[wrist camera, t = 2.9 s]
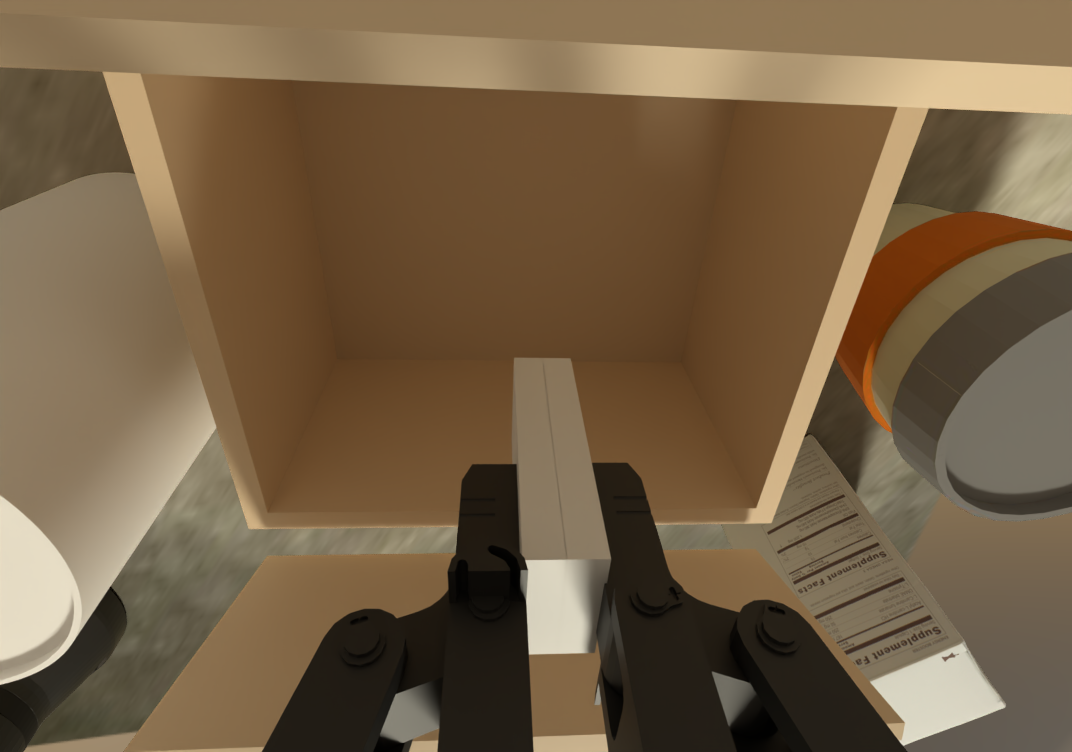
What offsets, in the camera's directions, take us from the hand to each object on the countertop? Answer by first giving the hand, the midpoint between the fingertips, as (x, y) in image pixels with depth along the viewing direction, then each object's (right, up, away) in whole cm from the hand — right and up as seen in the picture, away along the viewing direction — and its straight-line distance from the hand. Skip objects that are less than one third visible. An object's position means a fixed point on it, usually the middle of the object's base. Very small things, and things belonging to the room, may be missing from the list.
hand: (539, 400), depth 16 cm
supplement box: (+20, -9, +31) cm, 38 cm away
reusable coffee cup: (+22, +7, +21) cm, 31 cm away
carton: (-1, +11, +17) cm, 20 cm away
